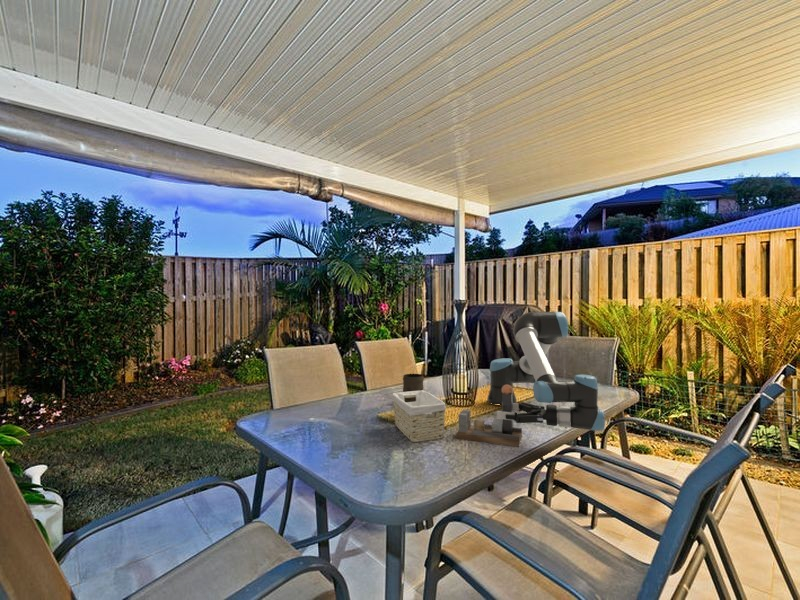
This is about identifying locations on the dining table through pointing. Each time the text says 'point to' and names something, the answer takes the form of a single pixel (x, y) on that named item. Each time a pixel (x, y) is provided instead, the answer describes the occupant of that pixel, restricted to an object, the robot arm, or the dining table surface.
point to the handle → (507, 406)
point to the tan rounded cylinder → (479, 425)
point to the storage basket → (419, 415)
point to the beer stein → (412, 384)
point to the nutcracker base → (485, 432)
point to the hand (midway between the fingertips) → (499, 409)
